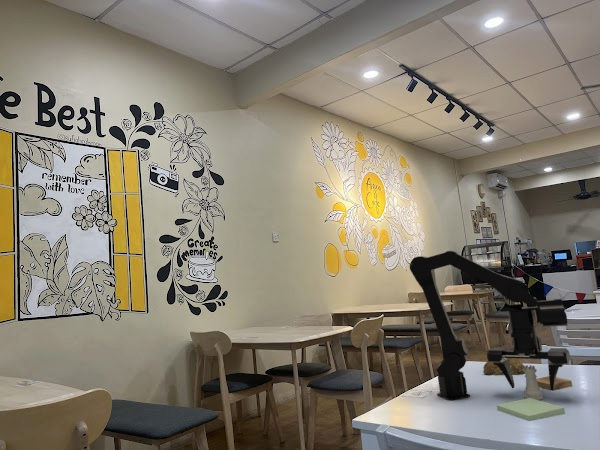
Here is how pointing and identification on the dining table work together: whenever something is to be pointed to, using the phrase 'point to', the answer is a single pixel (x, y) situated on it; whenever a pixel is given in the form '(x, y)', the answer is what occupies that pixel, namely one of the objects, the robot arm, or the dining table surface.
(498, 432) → the dining table surface
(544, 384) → the walnut block
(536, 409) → the sage block
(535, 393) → the rook chess piece
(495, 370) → the bread roll
